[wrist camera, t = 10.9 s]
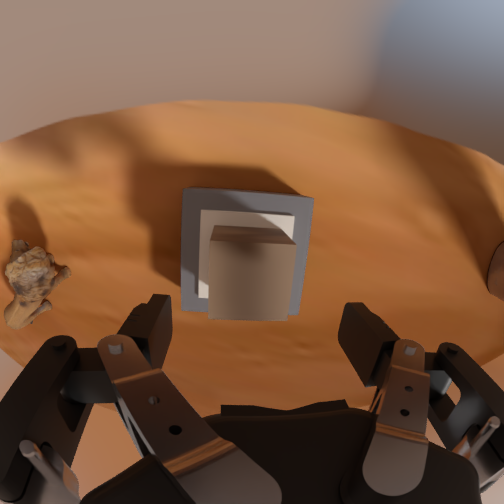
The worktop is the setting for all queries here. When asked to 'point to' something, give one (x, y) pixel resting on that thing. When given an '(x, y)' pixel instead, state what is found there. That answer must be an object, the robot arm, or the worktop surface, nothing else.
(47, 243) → the worktop surface
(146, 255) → the worktop surface
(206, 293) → the base brick
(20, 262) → the lion figurine
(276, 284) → the tan cube
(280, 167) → the worktop surface
